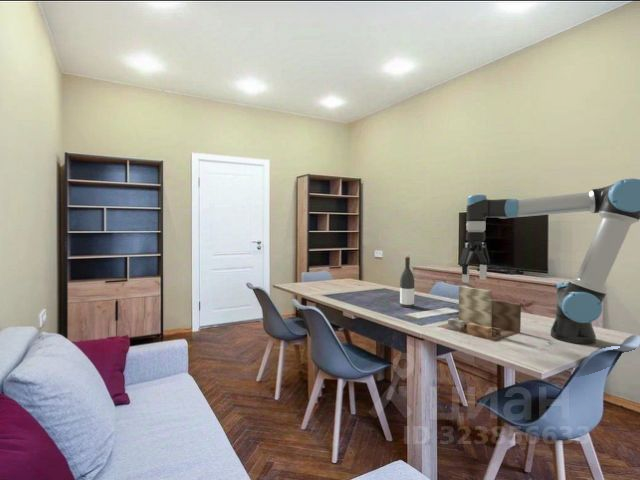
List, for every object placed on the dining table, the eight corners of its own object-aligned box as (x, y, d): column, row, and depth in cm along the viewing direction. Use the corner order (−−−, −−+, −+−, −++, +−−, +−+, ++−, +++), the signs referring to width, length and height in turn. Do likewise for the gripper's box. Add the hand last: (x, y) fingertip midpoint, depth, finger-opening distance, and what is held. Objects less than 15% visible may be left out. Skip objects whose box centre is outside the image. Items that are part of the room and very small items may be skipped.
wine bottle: (399, 306, 200) (400, 255, 199) (400, 304, 208) (400, 254, 207) (413, 307, 198) (414, 255, 197) (414, 304, 206) (414, 254, 205)
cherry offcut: (491, 337, 139) (492, 327, 139) (487, 338, 137) (488, 328, 137) (470, 331, 146) (471, 322, 146) (466, 333, 144) (467, 323, 144)
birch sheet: (491, 334, 143) (492, 290, 143) (489, 334, 142) (490, 291, 142) (460, 326, 155) (461, 286, 154) (458, 326, 154) (459, 286, 153)
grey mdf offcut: (464, 330, 148) (464, 321, 148) (460, 331, 147) (460, 322, 147) (451, 327, 153) (451, 318, 153) (447, 328, 152) (447, 319, 151)
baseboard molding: (401, 315, 182) (418, 321, 171) (401, 310, 182) (418, 315, 171) (442, 309, 197) (460, 313, 187) (442, 304, 197) (460, 308, 187)
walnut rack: (520, 336, 146) (520, 304, 145) (494, 345, 133) (495, 310, 133) (463, 322, 167) (463, 294, 166) (436, 329, 154) (437, 299, 154)
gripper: (482, 231, 158) (481, 277, 158) (450, 231, 143) (449, 282, 144) (499, 231, 152) (497, 279, 152) (467, 231, 137) (466, 284, 138)
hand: (474, 281), depth 148 cm, fingers open, 13 cm apart
